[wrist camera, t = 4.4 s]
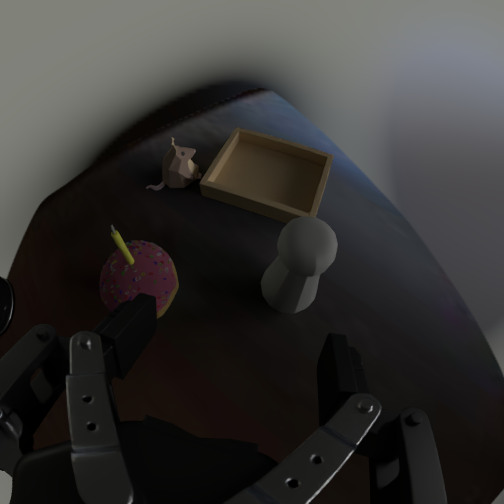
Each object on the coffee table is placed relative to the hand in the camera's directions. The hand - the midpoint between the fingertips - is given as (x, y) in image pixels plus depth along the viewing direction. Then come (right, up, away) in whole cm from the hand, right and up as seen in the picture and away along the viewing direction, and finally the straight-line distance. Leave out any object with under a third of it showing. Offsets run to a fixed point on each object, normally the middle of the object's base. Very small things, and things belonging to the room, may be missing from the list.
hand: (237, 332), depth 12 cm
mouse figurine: (-10, +14, +25) cm, 30 cm away
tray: (+3, +13, +25) cm, 28 cm away
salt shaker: (+4, -1, +19) cm, 19 cm away
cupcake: (-11, -1, +18) cm, 21 cm away
